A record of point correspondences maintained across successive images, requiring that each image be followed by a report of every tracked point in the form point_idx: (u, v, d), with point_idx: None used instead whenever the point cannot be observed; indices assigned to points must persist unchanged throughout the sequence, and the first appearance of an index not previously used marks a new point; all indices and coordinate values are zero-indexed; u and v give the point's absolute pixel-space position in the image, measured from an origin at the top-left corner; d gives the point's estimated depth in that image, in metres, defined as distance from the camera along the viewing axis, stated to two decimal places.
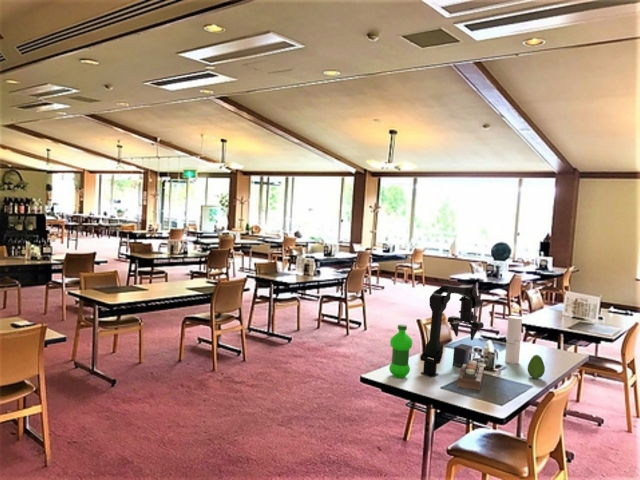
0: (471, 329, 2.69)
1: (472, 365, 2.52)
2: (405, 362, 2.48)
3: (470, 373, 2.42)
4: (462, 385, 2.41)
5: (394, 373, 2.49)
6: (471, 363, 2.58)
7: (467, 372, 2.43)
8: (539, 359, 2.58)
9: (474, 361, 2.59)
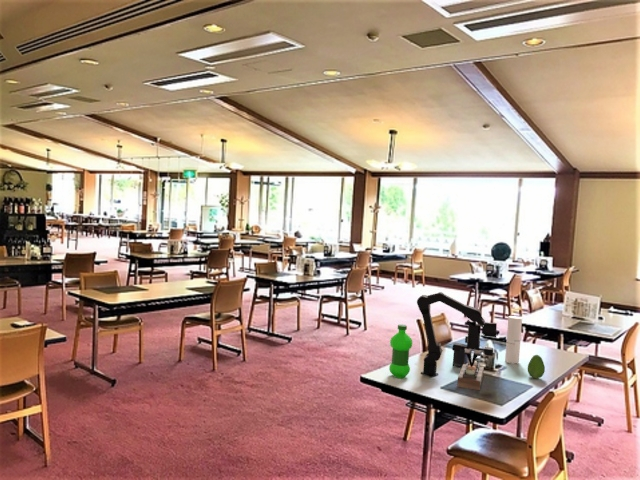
0: (474, 355, 2.48)
1: None
2: (405, 362, 2.48)
3: (470, 373, 2.42)
4: (462, 385, 2.41)
5: (394, 373, 2.49)
6: None
7: (467, 372, 2.43)
8: (539, 359, 2.58)
9: None
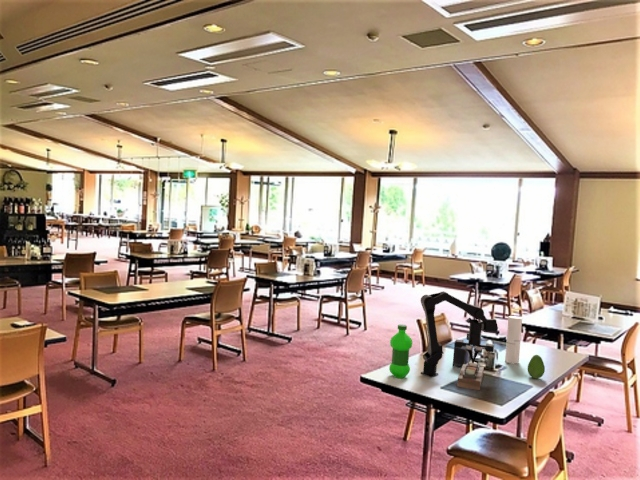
0: (476, 352, 2.56)
1: (472, 367, 2.52)
2: (405, 362, 2.48)
3: (470, 373, 2.42)
4: (462, 385, 2.41)
5: (394, 373, 2.49)
6: (471, 364, 2.58)
7: (467, 372, 2.43)
8: (539, 359, 2.58)
9: (474, 362, 2.59)
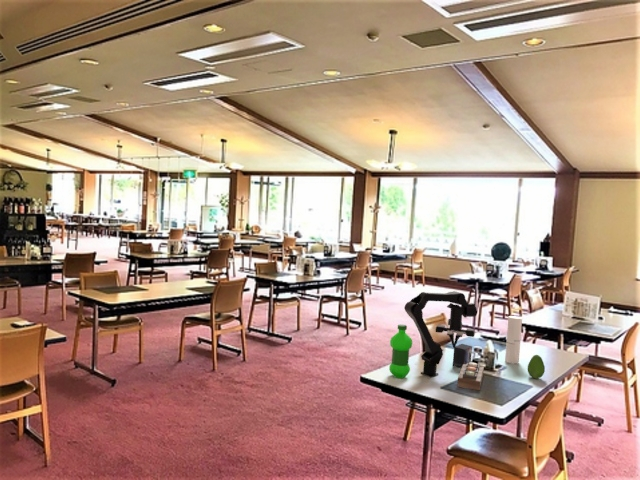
0: (456, 336, 2.58)
1: (472, 367, 2.52)
2: (405, 362, 2.48)
3: None
4: (462, 385, 2.41)
5: (394, 373, 2.49)
6: (471, 365, 2.58)
7: (467, 374, 2.43)
8: (539, 359, 2.58)
9: (474, 363, 2.59)
